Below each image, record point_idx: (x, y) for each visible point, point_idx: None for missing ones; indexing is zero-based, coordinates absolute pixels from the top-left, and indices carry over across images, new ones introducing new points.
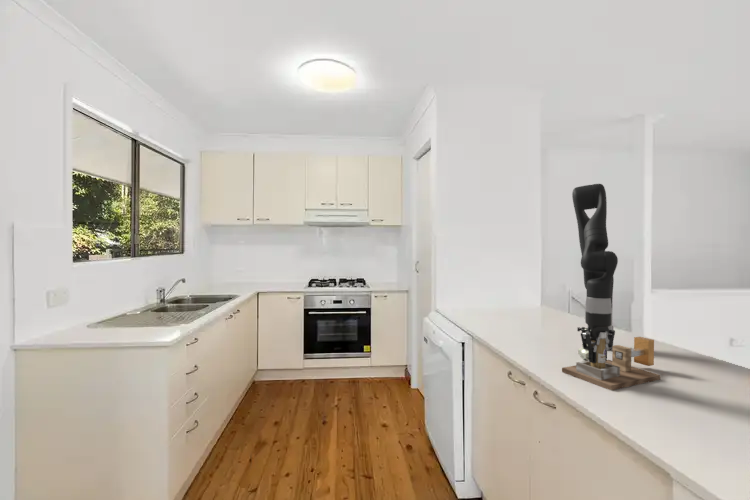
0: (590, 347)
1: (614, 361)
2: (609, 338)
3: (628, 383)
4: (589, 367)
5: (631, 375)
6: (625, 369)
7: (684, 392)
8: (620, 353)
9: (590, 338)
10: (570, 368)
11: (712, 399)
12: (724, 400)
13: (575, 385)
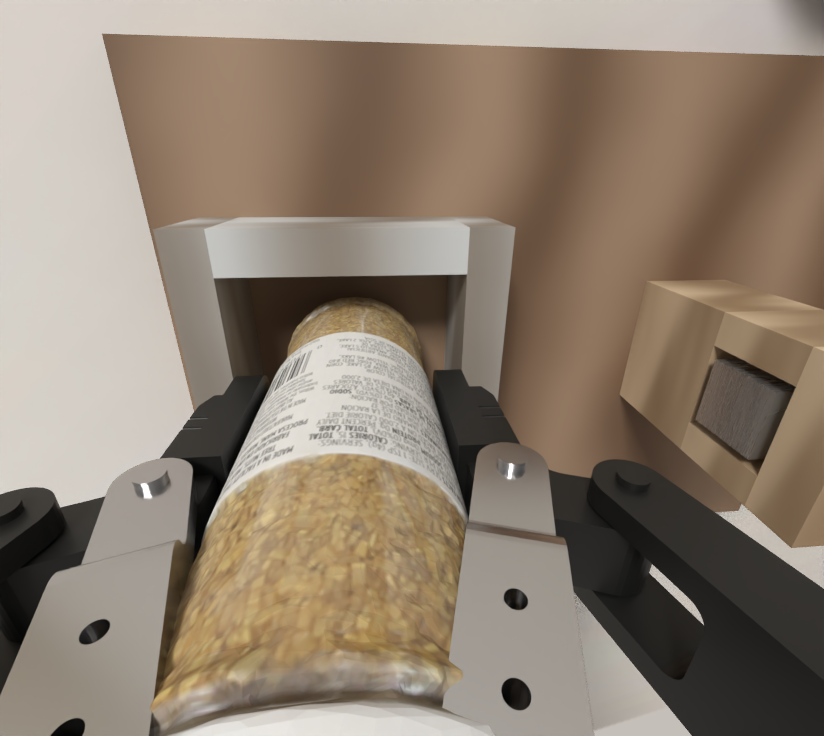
0: (11, 660)
1: (686, 322)
2: (705, 715)
3: None
4: (197, 404)
5: (564, 462)
6: (632, 403)
7: (589, 619)
8: (747, 442)
9: (87, 711)
10: (202, 110)
11: (596, 679)
12: (623, 691)
13: (31, 386)
